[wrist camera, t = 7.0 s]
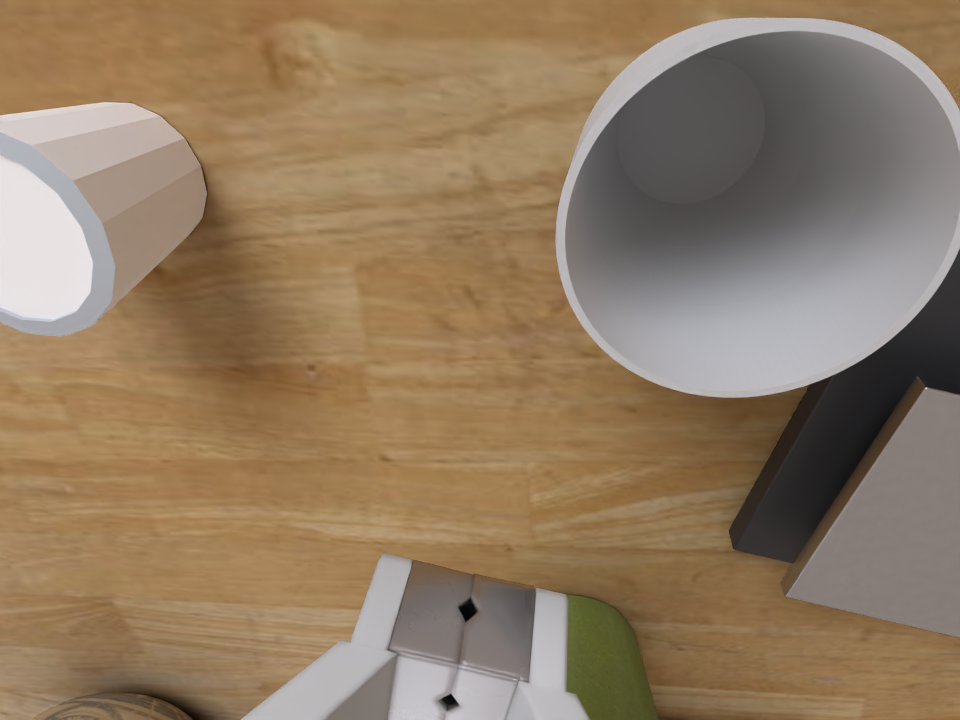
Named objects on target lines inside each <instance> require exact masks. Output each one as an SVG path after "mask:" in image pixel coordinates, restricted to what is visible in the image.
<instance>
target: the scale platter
mask: <svg viewBox="0 0 960 720" xmlns="http://www.w3.org/2000/svg"><path fill="white" fill-rule="evenodd" d="M781 586H782V589H783V593H784V596H785V597H789V598H793V599H797V600H801V601H806V602H810V603H814V604H818V605H823V606H827V607H831V608H835V609H839V610H844V611H848V612H852V613H856V614H861V615H865V616H869V617H873V618H878V619H882V620H886V621H890V622H894V623H899V624H903V625H907V626H911V627H916V628H920V629H924V630H928V631H933V632H937V633H941V634H945V635H949V636H954V637H958V638H960V386H959V385H954V384H950V383H946V382H941V381H937V380H932V379H928V378H924V377H919V376H916V377H915V379H914V380H913V382H912V383H911V385H910V386H909V388H908V389H907V391H906V392H905V394H904V395H903V397H902V398H901V400H900V401H899V403H898V404H897V406H896V408H895V409H894V411H893V412H892V414H891V415H890V417H889V418H888V420H887V421H886V423H885V424H884V426H883V427H882V429H881V430H880V432H879V433H878V435H877V436H876V438H875V439H874V441H873V442H872V444H871V445H870V447H869V448H868V450H867V451H866V453H865V455H864V456H863V458H862V459H861V461H860V462H859V464H858V465H857V467H856V468H855V470H854V471H853V473H852V474H851V476H850V477H849V479H848V480H847V482H846V483H845V485H844V486H843V488H842V489H841V491H840V492H839V494H838V495H837V497H836V498H835V500H834V502H833V503H832V505H831V506H830V508H829V509H828V511H827V512H826V514H825V515H824V517H823V518H822V520H821V521H820V523H819V524H818V526H817V527H816V529H815V530H814V532H813V533H812V535H811V536H810V538H809V539H808V541H807V542H806V544H805V545H804V547H803V549H802V550H801V552H800V553H799V555H798V556H797V558H796V559H795V561H794V562H793V564H792V565H791V567H790V568H789V570H788V571H787V573H786V574H785V576H784V577H783V579H782V580H781Z"/></svg>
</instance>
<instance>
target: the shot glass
mask: <svg viewBox="0 0 960 720" xmlns="http://www.w3.org/2000/svg"><path fill="white" fill-rule="evenodd" d="M206 197H207V191H206V186H205V182H204V177H203V173H202V168H201V165H200V163H199V161H198V160H197V158H196V156H195V155H194V153H193V151H192V150H191V148H190V146H189V145H188V143H187V141H186V140H185V138H184V137H183V136H182V135H181V134H180V133H179V132H177V131H176V130H175V129H174V128H173V127H172V126H171V125H170V124H169V123H168V122H166V121H165V120H164V119H163V118H162V117H161V116H159V115H157V114H155V113H153V112H151V111H148V110H146V109H144V108H142V107H139V106H137V105H135V104H133V103H112V102H103V103H95V104H87V105H79V106H71V107H63V108H55V109H48V110H40V111H32V112H24V113H16V114H8V115H0V323H2V324H5V325H7V326H10V327H12V328H14V329H17V330H19V331H22V332H24V333H27V334H38V335H51V336H66V335H69V334H72V333H74V332H77V331H80V330H82V329H85V328H88V327H90V326H93V325H94V324H95V323H96V322H97V321H99V320H100V319H101V318H102V317H103V316H104V315H105V314H106V313H107V312H108V311H109V310H110V309H111V308H112V307H113V306H114V305H116V304H117V303H118V302H119V301H120V300H121V299H122V298H123V297H124V296H125V295H126V294H127V293H128V292H129V291H130V290H131V289H133V288H134V287H135V286H136V285H137V284H138V283H139V282H140V281H141V280H142V279H143V278H144V277H145V276H146V275H147V274H148V273H150V272H151V271H152V270H153V269H154V268H155V267H156V266H157V265H158V264H159V263H160V262H161V261H162V260H163V259H164V258H165V257H167V256H168V255H169V254H170V253H171V252H172V251H173V250H174V249H175V248H176V247H177V246H178V245H179V244H180V243H181V242H182V241H184V240H185V239H186V238H187V237H188V236H189V235H190V233H191V232H192V231H193V230H194V228H195V227H196V226H197V225H198V223H199V222H200V221H201V219H202V218H203V213H204V208H205V202H206Z"/></svg>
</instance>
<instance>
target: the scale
mask: <svg viewBox="0 0 960 720" xmlns="http://www.w3.org/2000/svg"><path fill="white" fill-rule="evenodd" d="M916 376H919V377H924V378H928V379H932V380H937V381H941V382H946V383H950V384H954V385H959V386H960V249H959V251H958V253H957V256H956V258H955V260H954V262H953V264H952V266H951V268H950V269H949V271H948V273H947V275H946V276H945V278H944V280H943V281H942V283H941V284H940V286H939V287H938V289H937V290H936V292H935V293H934V294H933V296H932V297H931V298H930V300H929V301H928V302H927V303H926V305H925V306H924V307H923V308H922V309H921V311H920V312H919V313H918V314H917V315H916V316H915V317H914V318H913V319H912V320H911V321H910V322H909V323H908V324H907V325H906V326H905V327H904V328H903V329H902V330H901V331H900V332H899V333H898V334H896V335H895V336H894V337H893V338H892V339H891V340H889V341H888V342H887V343H886V344H884V345H883V346H882V347H880V348H879V349H877V350H876V351H875V352H873V353H872V354H870V355H869V356H867V357H866V358H864V359H862V360H861V361H859V362H857V363H856V364H854V365H852V366H850V367H848V368H847V369H845V370H843V371H841V372H839V373H837V374H834V375H832V376H830V377H828V378H825V379H823V380H820V381H818V382H815V383H812V384H810V386H809V388H808V390H807V392H806V393H805V395H804V397H803V399H802V401H801V402H800V404H799V406H798V408H797V409H796V411H795V413H794V415H793V417H792V418H791V420H790V422H789V424H788V426H787V427H786V429H785V431H784V433H783V435H782V436H781V438H780V440H779V442H778V444H777V445H776V447H775V449H774V451H773V453H772V454H771V456H770V458H769V460H768V462H767V463H766V465H765V467H764V469H763V470H762V472H761V474H760V476H759V478H758V479H757V481H756V483H755V485H754V487H753V488H752V490H751V492H750V494H749V496H748V497H747V499H746V501H745V503H744V505H743V506H742V508H741V510H740V512H739V514H738V515H737V517H736V519H735V521H734V523H733V524H732V526H731V528H730V530H729V534H730V538H731V542H732V546H733V549H735V550H738V551H743V552H747V553H751V554H755V555H760V556H764V557H768V558H772V559H777V560H781V561H785V562H789V563H793V562H794V561H795V559H796V558H797V556H798V555H799V553H800V552H801V550H802V549H803V547H804V545H805V544H806V542H807V541H808V539H809V538H810V536H811V535H812V533H813V532H814V530H815V529H816V527H817V526H818V524H819V523H820V521H821V520H822V518H823V517H824V515H825V514H826V512H827V511H828V509H829V508H830V506H831V505H832V503H833V502H834V500H835V498H836V497H837V495H838V494H839V492H840V491H841V489H842V488H843V486H844V485H845V483H846V482H847V480H848V479H849V477H850V476H851V474H852V473H853V471H854V470H855V468H856V467H857V465H858V464H859V462H860V461H861V459H862V458H863V456H864V455H865V453H866V451H867V450H868V448H869V447H870V445H871V444H872V442H873V441H874V439H875V438H876V436H877V435H878V433H879V432H880V430H881V429H882V427H883V426H884V424H885V423H886V421H887V420H888V418H889V417H890V415H891V414H892V412H893V411H894V409H895V408H896V406H897V404H898V403H899V401H900V400H901V398H902V397H903V395H904V394H905V392H906V391H907V389H908V388H909V386H910V385H911V383H912V382H913V380H914V379H915V377H916Z"/></svg>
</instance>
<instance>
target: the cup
mask: <svg viewBox="0 0 960 720" xmlns="http://www.w3.org/2000/svg"><path fill="white" fill-rule="evenodd" d="M959 249H960V111H959V109H958V107H957V105H956V103H955V101H954V99H953V98H952V96H951V94H950V93H949V91H948V90H947V88H946V87H945V86H944V84H943V83H942V82H941V81H940V79H939V78H938V77H937V76H936V75H935V74H934V72H933V71H932V70H931V69H930V68H929V67H928V66H927V65H926V64H924V63H923V62H922V61H921V60H920V59H919V58H917V57H916V56H915V55H914V54H912V53H911V52H909V51H908V50H907V49H905V48H904V47H902V46H900V45H899V44H897V43H895V42H893V41H892V40H890V39H888V38H886V37H884V36H882V35H879V34H877V33H875V32H872V31H870V30H867V29H864V28H861V27H858V26H854V25H850V24H846V23H841V22H837V21H830V20H822V19H810V18H734V19H725V20H719V21H714V22H709V23H705V24H702V25H698V26H695V27H692V28H689V29H687V30H684V31H682V32H679V33H677V34H675V35H673V36H671V37H669V38H667V39H665V40H663V41H661V42H660V43H658V44H656V45H655V46H653V47H652V48H650V49H649V50H647V51H646V52H644V53H643V54H642V55H640V56H639V57H638V58H636V59H635V60H634V61H633V62H632V63H630V64H629V65H628V66H627V67H626V68H625V69H624V70H623V71H622V72H621V73H620V74H619V75H618V76H617V77H616V78H615V79H614V80H613V82H612V83H611V84H610V85H609V86H608V88H607V89H606V90H605V91H604V93H603V94H602V96H601V97H600V98H599V100H598V102H597V103H596V105H595V106H594V108H593V110H592V111H591V113H590V115H589V117H588V119H587V121H586V123H585V125H584V128H583V130H582V133H581V135H580V138H579V141H578V144H577V147H576V150H575V153H574V156H573V159H572V162H571V165H570V168H569V171H568V174H567V177H566V180H565V184H564V187H563V190H562V194H561V198H560V203H559V208H558V214H557V223H556V254H557V262H558V268H559V273H560V277H561V281H562V284H563V287H564V290H565V293H566V296H567V298H568V301H569V303H570V305H571V307H572V309H573V311H574V313H575V315H576V316H577V318H578V320H579V321H580V323H581V324H582V326H583V327H584V329H585V330H586V331H587V333H588V334H589V335H590V336H591V338H592V339H593V340H594V341H595V342H596V343H597V344H598V345H599V346H600V347H601V348H602V349H603V350H604V351H605V352H606V353H607V354H608V355H609V356H610V357H612V358H613V359H614V360H615V361H617V362H618V363H620V364H621V365H622V366H624V367H625V368H627V369H628V370H630V371H632V372H633V373H635V374H637V375H639V376H641V377H643V378H645V379H647V380H649V381H651V382H654V383H656V384H659V385H661V386H664V387H667V388H670V389H673V390H677V391H681V392H685V393H690V394H695V395H702V396H710V397H727V398H737V397H754V396H762V395H769V394H775V393H780V392H785V391H789V390H793V389H796V388H800V387H803V386H806V385H809V384H812V383H815V382H818V381H820V380H823V379H825V378H828V377H830V376H832V375H834V374H837V373H839V372H841V371H843V370H845V369H847V368H848V367H850V366H852V365H854V364H856V363H857V362H859V361H861V360H862V359H864V358H866V357H867V356H869V355H870V354H872V353H873V352H875V351H876V350H877V349H879V348H880V347H882V346H883V345H884V344H886V343H887V342H888V341H889V340H891V339H892V338H893V337H894V336H895V335H896V334H898V333H899V332H900V331H901V330H902V329H903V328H904V327H905V326H906V325H907V324H908V323H909V322H910V321H911V320H912V319H913V318H914V317H915V316H916V315H917V314H918V313H919V312H920V311H921V309H922V308H923V307H924V306H925V305H926V303H927V302H928V301H929V300H930V298H931V297H932V296H933V294H934V293H935V292H936V290H937V289H938V287H939V286H940V284H941V283H942V281H943V280H944V278H945V276H946V275H947V273H948V271H949V269H950V268H951V266H952V264H953V262H954V260H955V258H956V256H957V253H958V251H959Z"/></svg>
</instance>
